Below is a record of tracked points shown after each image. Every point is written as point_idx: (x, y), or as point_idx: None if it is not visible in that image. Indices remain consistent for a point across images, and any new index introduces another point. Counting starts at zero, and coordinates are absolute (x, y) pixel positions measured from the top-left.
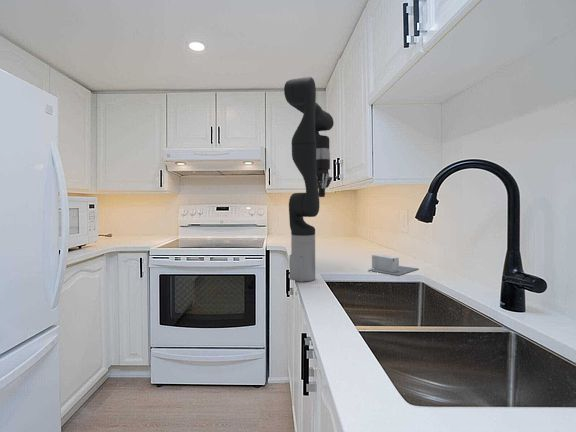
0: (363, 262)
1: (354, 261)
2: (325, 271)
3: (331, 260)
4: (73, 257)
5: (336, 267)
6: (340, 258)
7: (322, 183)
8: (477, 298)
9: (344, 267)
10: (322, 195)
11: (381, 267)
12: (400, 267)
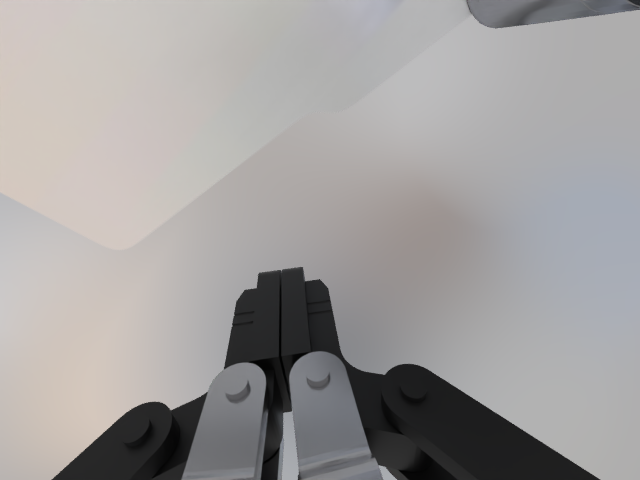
0: (74, 56)
1: (100, 105)
2: (349, 27)
3: (178, 184)
4: None
5: (258, 58)
6: (116, 193)
7: (351, 460)
8: None
9: (231, 32)
10: (303, 278)
11: None
12: None
